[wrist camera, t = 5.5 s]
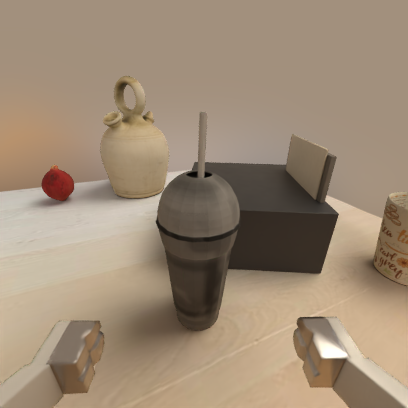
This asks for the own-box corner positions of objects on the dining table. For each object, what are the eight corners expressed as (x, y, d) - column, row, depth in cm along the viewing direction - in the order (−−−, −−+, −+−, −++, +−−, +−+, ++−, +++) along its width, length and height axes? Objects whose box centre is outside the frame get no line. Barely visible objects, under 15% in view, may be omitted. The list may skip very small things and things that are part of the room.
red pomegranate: (70, 206, 47) (61, 169, 44) (41, 206, 46) (29, 169, 43) (81, 195, 52) (73, 161, 49) (55, 196, 52) (45, 162, 48)
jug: (126, 208, 46) (107, 69, 36) (97, 188, 56) (74, 75, 46) (183, 190, 56) (180, 77, 46) (149, 176, 66) (140, 80, 56)
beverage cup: (220, 281, 28) (231, 109, 20) (242, 335, 22) (272, 114, 13) (161, 290, 27) (146, 108, 18) (166, 351, 20) (146, 114, 12)
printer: (176, 266, 31) (171, 152, 24) (193, 200, 50) (192, 128, 44) (320, 273, 30) (356, 157, 23) (279, 204, 50) (292, 131, 43)
